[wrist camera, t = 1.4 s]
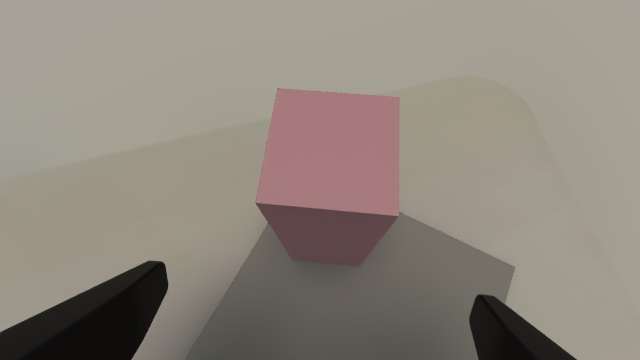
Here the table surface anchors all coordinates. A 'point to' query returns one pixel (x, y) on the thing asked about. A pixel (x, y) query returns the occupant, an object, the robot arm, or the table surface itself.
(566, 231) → the table surface
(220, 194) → the table surface
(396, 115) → the pink box
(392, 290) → the mat
